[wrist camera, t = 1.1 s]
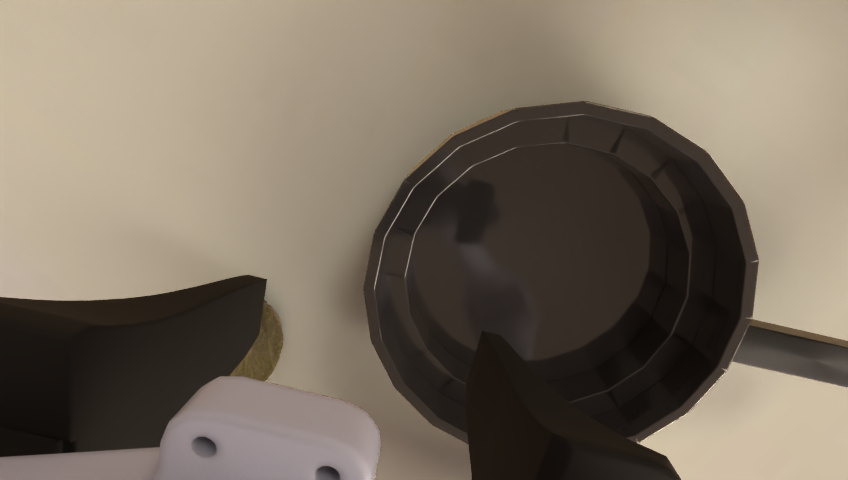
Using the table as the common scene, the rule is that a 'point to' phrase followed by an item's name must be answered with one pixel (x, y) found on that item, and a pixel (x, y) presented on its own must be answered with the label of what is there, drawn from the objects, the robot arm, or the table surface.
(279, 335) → the lime
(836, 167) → the table surface
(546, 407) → the robot arm
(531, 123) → the skillet
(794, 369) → the skillet handle
